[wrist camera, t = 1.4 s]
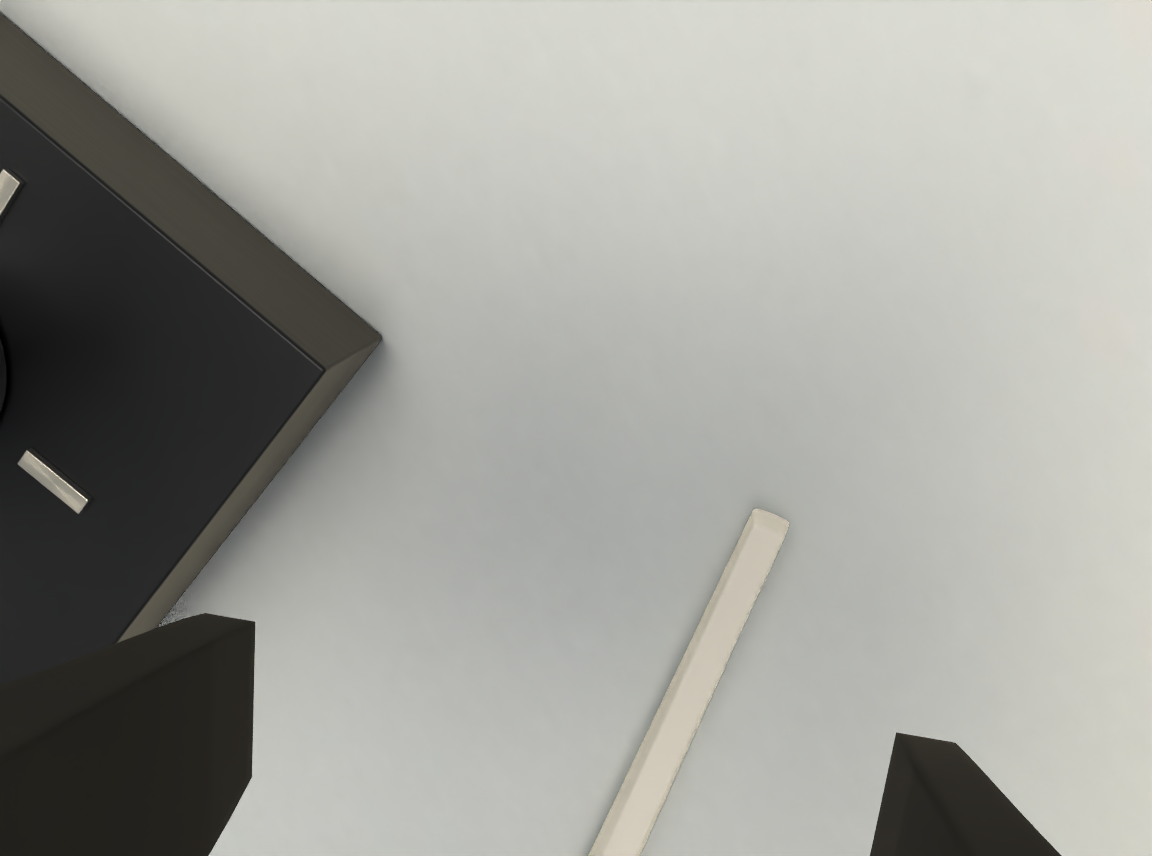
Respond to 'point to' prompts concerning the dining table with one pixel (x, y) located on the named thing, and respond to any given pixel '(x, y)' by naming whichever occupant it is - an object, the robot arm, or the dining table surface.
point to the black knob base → (133, 368)
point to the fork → (691, 689)
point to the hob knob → (2, 376)
